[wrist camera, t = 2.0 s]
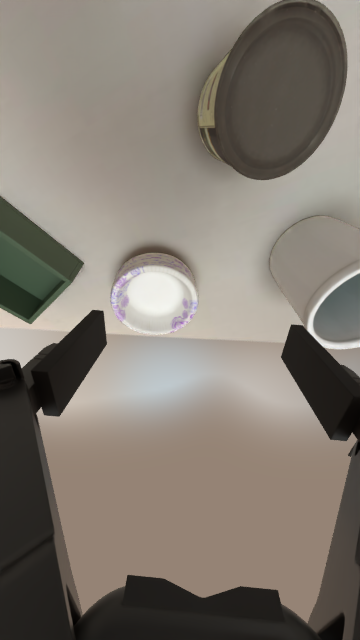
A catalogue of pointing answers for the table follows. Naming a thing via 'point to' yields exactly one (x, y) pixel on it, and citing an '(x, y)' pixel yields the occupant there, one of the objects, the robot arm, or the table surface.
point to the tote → (31, 266)
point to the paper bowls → (154, 294)
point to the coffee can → (275, 90)
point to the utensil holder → (322, 278)
